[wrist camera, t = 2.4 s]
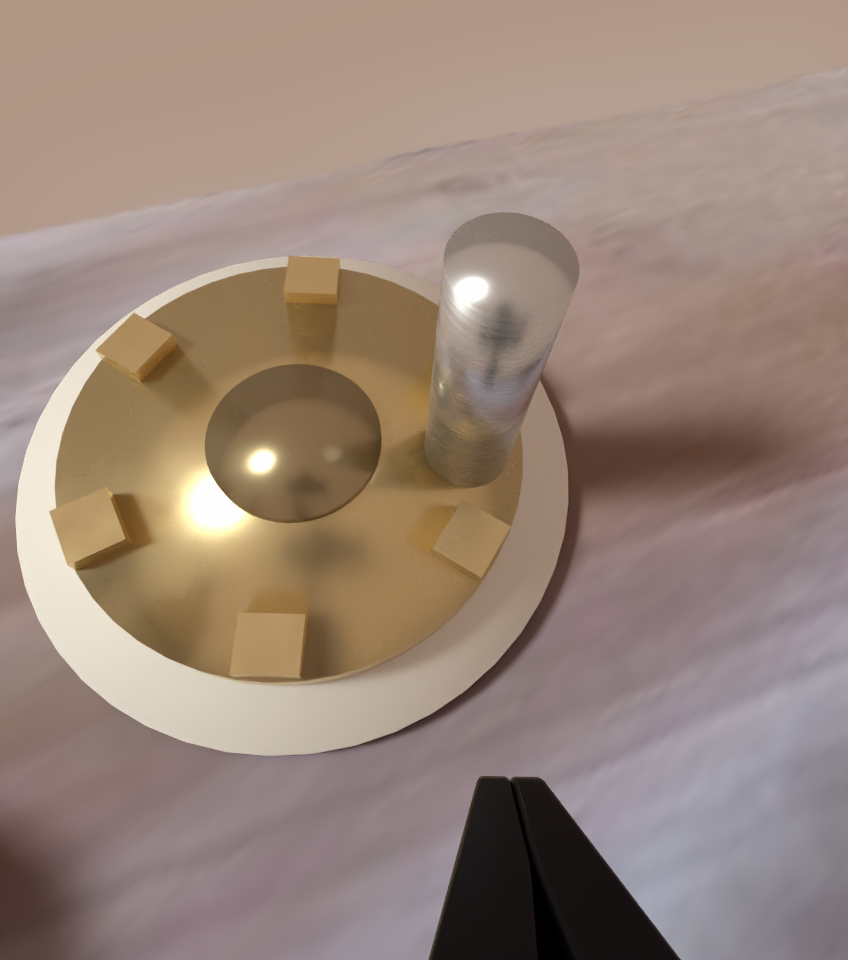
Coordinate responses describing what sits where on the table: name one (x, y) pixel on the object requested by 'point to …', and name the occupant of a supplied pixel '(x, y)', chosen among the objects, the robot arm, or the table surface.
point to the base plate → (293, 708)
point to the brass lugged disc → (311, 455)
